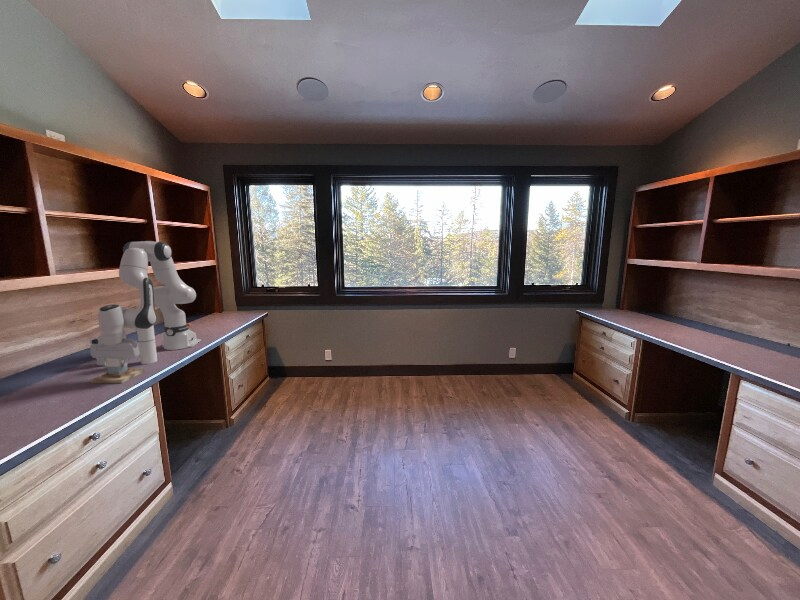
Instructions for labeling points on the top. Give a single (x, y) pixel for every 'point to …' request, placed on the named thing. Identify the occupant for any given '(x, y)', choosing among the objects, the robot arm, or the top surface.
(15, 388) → the top surface
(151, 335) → the cylindrical container
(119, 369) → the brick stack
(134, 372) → the base plate
